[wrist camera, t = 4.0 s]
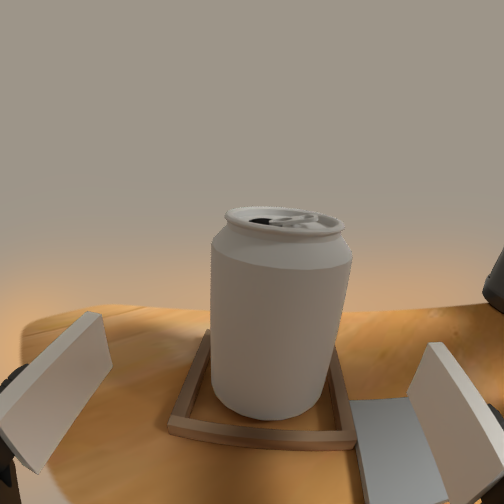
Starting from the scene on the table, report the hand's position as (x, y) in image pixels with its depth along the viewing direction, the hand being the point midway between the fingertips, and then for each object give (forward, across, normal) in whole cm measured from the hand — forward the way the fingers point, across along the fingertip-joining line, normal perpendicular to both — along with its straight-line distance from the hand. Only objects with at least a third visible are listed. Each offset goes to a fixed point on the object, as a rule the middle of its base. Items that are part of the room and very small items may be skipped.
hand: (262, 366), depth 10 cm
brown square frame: (+6, 0, -7) cm, 10 cm away
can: (+6, 0, -8) cm, 10 cm away
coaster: (0, +10, -7) cm, 13 cm away
